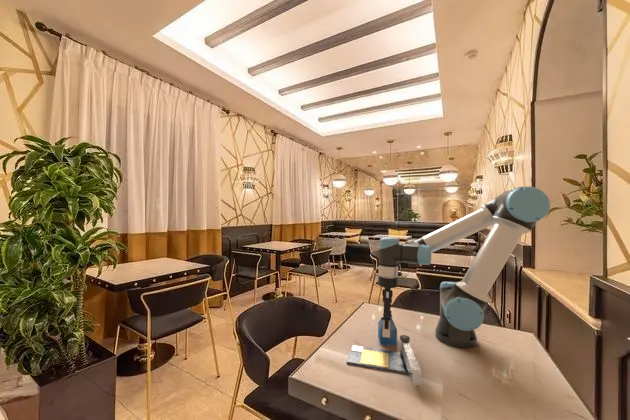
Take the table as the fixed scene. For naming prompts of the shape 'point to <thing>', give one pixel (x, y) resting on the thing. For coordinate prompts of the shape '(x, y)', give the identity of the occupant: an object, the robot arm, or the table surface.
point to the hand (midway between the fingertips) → (386, 329)
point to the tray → (377, 359)
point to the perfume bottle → (393, 333)
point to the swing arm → (410, 360)
